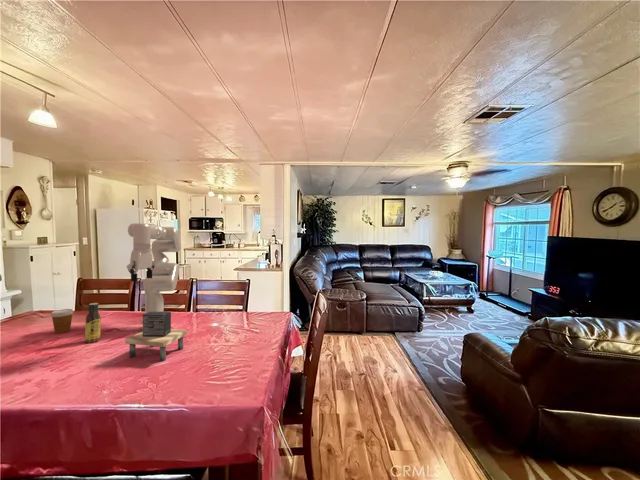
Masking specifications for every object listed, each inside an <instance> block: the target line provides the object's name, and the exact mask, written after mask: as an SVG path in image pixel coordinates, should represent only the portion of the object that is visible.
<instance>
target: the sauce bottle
mask: <svg viewBox="0 0 640 480" xmlns="http://www.w3.org/2000/svg"><path fill="white" fill-rule="evenodd" d="M99 305H100V303H98V302H94V303H93V302H92V303H89V304H88V314H87V315H86V317H85V324H84V325H85V327H84V329H85V330H84V340H85V341H84V342H85V343H87V344H91V343H96V342H99V341H100V340H101V326H102V325H101V324H102V322H101V321H102V319H101V315H100V312H99Z"/></svg>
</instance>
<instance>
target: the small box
mask: <svg viewBox="0 0 640 480" xmlns="http://www.w3.org/2000/svg"><path fill="white" fill-rule="evenodd" d="M171 325H172V311H164V312H148V313H146V314H145V313H144V314H142V327H143V330H142V331H143V337H164V336H166V335H167V334H169V333H170V332H171V329H172V326H171Z"/></svg>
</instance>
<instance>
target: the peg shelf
mask: <svg viewBox="0 0 640 480" xmlns="http://www.w3.org/2000/svg"><path fill="white" fill-rule="evenodd" d="M187 334H188V330H187V329H176V328H171V332H170V333H169V334H167V335H166V336H164V337H143V330H142V331H140V332H138V333H136V334H134V335H132V336H129V337H127V338H124V344H127V345H128V344H129V352H128V354H129V359H133V358H135V357H136V356H137V355H136V354H137V353H136V352H137V348H136V347H137V346H136V345H139V346H148V347H150V348H154V347H158V348H159V362H165V361H166V360H167V359H166V358H167V354H166V353H167V346H168V345H170V344H172V343H173V342H175V341H177V350H178V351H182V350H184V337H185V336H187Z"/></svg>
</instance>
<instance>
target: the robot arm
mask: <svg viewBox="0 0 640 480" xmlns="http://www.w3.org/2000/svg"><path fill="white" fill-rule="evenodd" d="M127 233H128V236H130V237H131V238H132V239H133V241H132V243H133V244H132V247H133V249H132V250H131V252H130V253H131V254H130V260H129V261H130V262H129V264H127V265H126V268H127V271H128V272H129V274H130V280H131V282H134V283H135V282H138V273H137V272H138V271H140V270H144V269H146V272H145V274H146V275H145V277H146V278H144V279H143V283H142V285H143V290H144V300H145V301H144V303H145V305H144V306H145V307H144V309H145V311H144V314H146V313H148V312H165V311H164V310H165V309H164V304H165V303H164V302H165V299H164V295H162V293H161V292H172V291H174V290H176V288H177V284H178V279H179V275H180V266H179V265H178V263H176V262H170V260H169V259H170V258H168V256H167V255H166V254H165V253H179V252H180V251H181V249H182V244H181V240H180V235H179V230H177V228H176V227H173V226H160V225H157V224H155V223H130V224H129V226H128V227H127ZM151 240H153V241H152V242H151ZM141 330H142V331H143V326H141Z"/></svg>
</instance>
